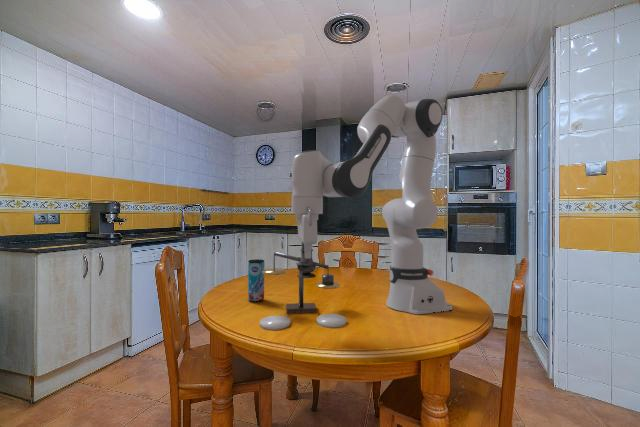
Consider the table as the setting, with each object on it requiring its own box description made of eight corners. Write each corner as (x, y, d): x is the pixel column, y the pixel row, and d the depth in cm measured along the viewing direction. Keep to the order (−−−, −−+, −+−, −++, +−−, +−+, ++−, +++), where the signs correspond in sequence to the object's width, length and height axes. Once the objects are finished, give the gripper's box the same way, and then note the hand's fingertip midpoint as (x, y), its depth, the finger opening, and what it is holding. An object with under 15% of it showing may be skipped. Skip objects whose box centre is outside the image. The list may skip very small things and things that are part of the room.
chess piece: (314, 278, 83) (314, 234, 83) (293, 277, 84) (293, 234, 84) (318, 274, 89) (319, 233, 89) (299, 273, 90) (299, 232, 90)
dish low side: (342, 316, 99) (343, 313, 99) (349, 327, 90) (349, 323, 90) (315, 317, 97) (315, 314, 97) (318, 328, 89) (318, 324, 89)
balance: (336, 305, 110) (337, 249, 110) (341, 312, 102) (342, 252, 102) (262, 307, 107) (262, 250, 107) (260, 315, 99) (261, 253, 99)
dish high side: (289, 318, 96) (289, 315, 96) (290, 329, 88) (290, 325, 87) (260, 319, 95) (260, 316, 95) (258, 330, 86) (258, 326, 86)
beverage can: (246, 302, 112) (246, 261, 112) (250, 298, 118) (250, 259, 118) (262, 302, 112) (262, 262, 112) (265, 298, 118) (265, 259, 118)
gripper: (323, 207, 77) (323, 262, 77) (314, 208, 97) (314, 252, 97) (298, 207, 76) (297, 263, 76) (294, 208, 96) (294, 252, 96)
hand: (306, 256), depth 87 cm, fingers closed on chess piece, 3 cm apart
